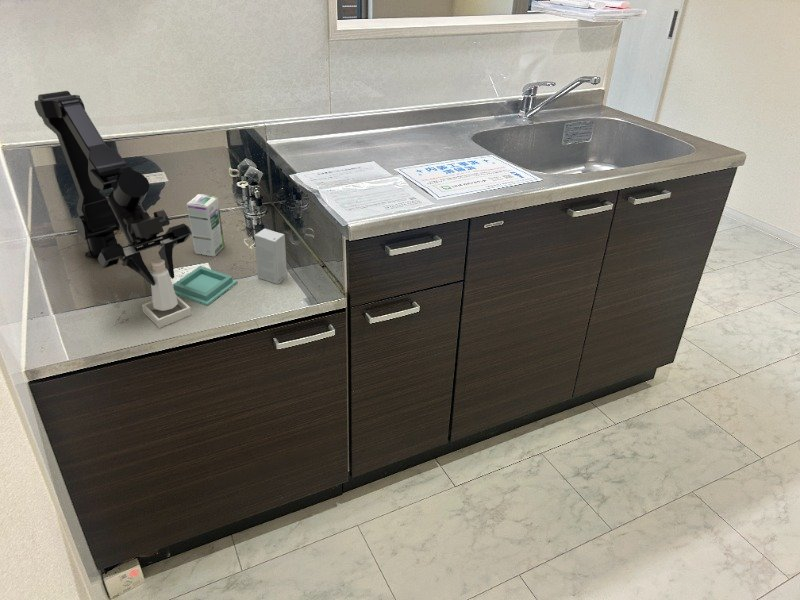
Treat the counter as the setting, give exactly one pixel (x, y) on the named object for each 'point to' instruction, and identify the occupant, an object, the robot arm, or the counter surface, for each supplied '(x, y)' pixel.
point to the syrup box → (205, 224)
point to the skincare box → (271, 255)
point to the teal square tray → (203, 285)
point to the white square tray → (169, 318)
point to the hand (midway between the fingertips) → (163, 281)
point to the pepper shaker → (162, 287)
